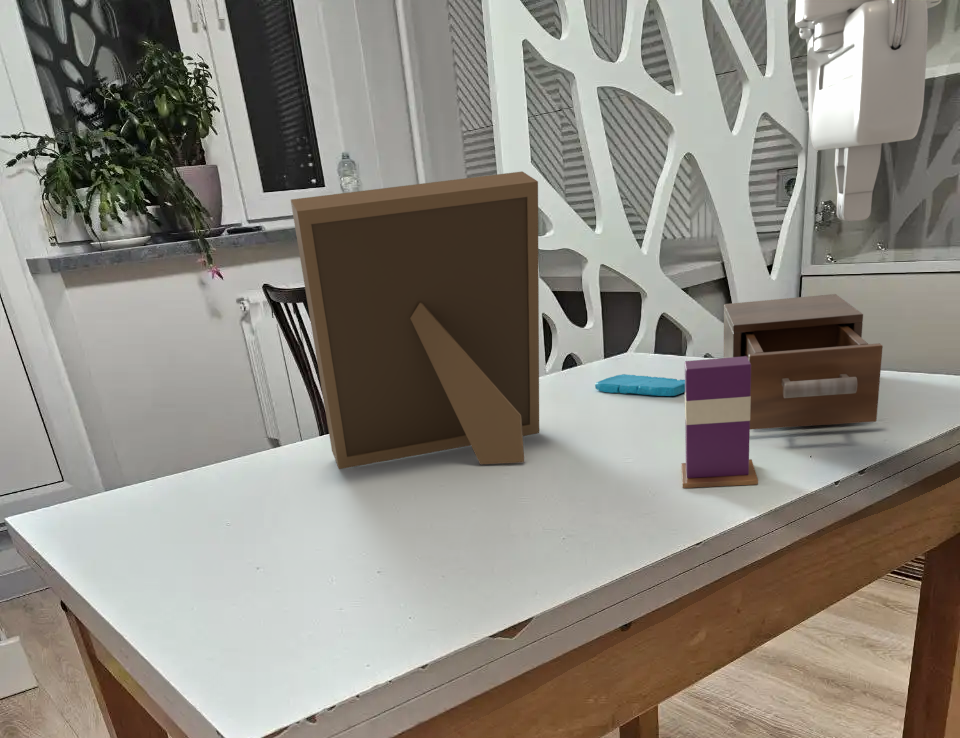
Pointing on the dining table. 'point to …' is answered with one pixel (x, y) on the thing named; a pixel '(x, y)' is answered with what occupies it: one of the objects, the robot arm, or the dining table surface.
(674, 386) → the sponge
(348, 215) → the photo frame
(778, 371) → the drawer
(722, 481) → the coaster
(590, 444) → the dining table surface
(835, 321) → the cabinet
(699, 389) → the snack carton
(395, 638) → the dining table surface
